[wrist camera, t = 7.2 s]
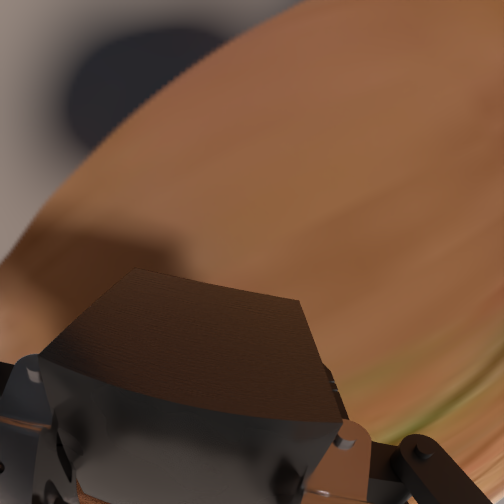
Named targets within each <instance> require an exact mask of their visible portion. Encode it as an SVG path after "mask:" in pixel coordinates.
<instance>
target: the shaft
mask: <svg viewBox="0 0 504 504" xmlns="http://www.w3.org/2000/svg"><path fill="white" fill-rule="evenodd" d="M37 357H38V362H39V367H40V371H41V376H42V380H43V384H44V388H45V391H46V395H47V399H48V402H49V406H51V407H53V408H54V409H55V413H56V416H57V420H58V423H59V424H58V433H59V436H60V439H61V442H62V444H63V447H64V450H65V452H66V455H67V457H68V459H69V461H71V462H73V464H74V467H75V469H76V478H77V480H78V482H79V484H80V486H81V488H82V490H83V492H84V493H85V494H87V495H90V496H92V497H95V498H97V499H100V500H103V501H105V502H108V503H111V504H290V503H291V501H292V499H293V497H294V494H295V492H296V489H297V486H298V483H299V480H300V478H301V476H302V474H303V473H304V471H305V469H306V468H307V466H308V465H318V464H319V463H320V461H321V459H322V458H323V456H324V455H325V453H326V452H327V450H328V448H329V447H330V445H331V443H332V442H333V440H334V438H335V437H336V435H337V433H338V432H339V430H340V428H341V426H342V425H343V420H342V417H341V414H340V411H339V409H338V406H337V403H336V400H335V397H334V394H333V392H332V389H331V386H330V383H329V380H328V378H327V375H326V372H325V369H324V366H323V364H322V361H321V358H320V356H319V353H318V350H317V347H316V345H315V342H314V339H313V337H312V334H311V331H310V328H309V326H308V323H307V320H306V318H305V315H304V313H303V310H302V307H301V305H300V302H299V300H293V299H287V298H281V297H276V296H270V295H265V294H260V293H254V292H249V291H244V290H238V289H233V288H228V287H223V286H218V285H213V284H208V283H203V282H198V281H194V280H189V279H184V278H179V277H175V276H170V275H165V274H161V273H156V272H152V271H147V270H143V269H139V268H134V269H133V270H132V271H130V272H129V273H128V274H127V275H126V276H125V277H123V278H122V279H121V280H120V281H119V282H117V283H116V284H115V285H114V286H113V287H112V288H110V289H109V290H108V291H107V292H106V293H105V294H104V295H102V296H101V297H100V298H99V299H98V300H97V301H96V302H94V303H93V304H92V305H91V306H90V307H89V308H88V309H87V310H86V311H84V312H83V313H82V314H81V315H80V316H79V317H78V318H77V319H76V320H74V321H73V322H72V323H71V324H70V325H69V326H68V327H67V328H66V329H65V330H64V331H63V332H62V333H60V334H59V335H58V336H57V337H56V338H55V339H54V340H53V341H52V342H51V343H50V344H49V345H48V346H47V347H46V348H45V349H44V350H43V351H42V352H41V353H40V354H39V355H37Z"/></svg>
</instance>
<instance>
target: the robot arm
mask: <svg viewBox="0 0 504 504" xmlns="http://www.w3.org/2000/svg"><path fill="white" fill-rule="evenodd" d="M37 355H39V354H30V355H27V356H24V357H22V358H20V359H19V360H18V361H17V362H16V363H15V365H13V364H8V363H4V362H0V504H80V503H79V499H78V495H77V488H76V469H75V467H74V464H73V462H71V461H69V459H68V457H67V455H66V452H65V450H64V447H63V444H62V442H61V439H60V436H59V433H58V424H59V423H58V420H57V416H56V413H55V409H54V408H53V407H51V406H49V402H48V399H47V395H46V391H45V388H44V384H43V380H42V376H41V371H40V367H39V362H38V357H37ZM322 364H323V363H322ZM323 366H324V369H325V372H326V375H327V378H328V380H329V383H330V386H331V389H332V392H333V394H334V397H335V400H336V403H337V406H338V409H339V411H340V414H341V417H342V420H343V425H342V426H341V428H340V430H339V432H338V433H337V435H336V437H335V438H334V440H333V442H332V443H331V445H330V447H329V448H328V450H327V452H326V453H325V455H324V456H323V458H322V459H321V461H320V463H319V464H318V465H308V466H307V468H306V469H305V471H304V473H303V474H302V476H301V478H300V480H299V483H298V486H297V489H296V492H295V494H294V497H293V499H292V501H291V503H290V504H409V503H408V502H407V500H408V499H409V498H410V497H411V496H413V497H414V499H415V500H416V501H417V503H418V504H492V502H491V501H490V500H489V499H488V498H487V497H486V496H485V495H484V493H483V492H482V491H481V490H480V489H479V488H478V487H477V486H476V485H475V484H474V482H473V481H472V480H471V479H470V478H469V477H468V476H467V475H466V474H465V472H464V471H463V470H462V469H461V468H460V467H459V466H458V465H457V464H456V463H455V461H454V460H453V459H452V458H451V457H450V456H449V455H448V454H447V453H446V452H445V450H444V449H443V448H442V447H441V446H440V445H439V444H438V443H437V442H436V441H435V440H433V439H432V438H430V437H428V436H425V435H420V434H412V435H409V436H406V437H405V438H404V439H403V440H402V441H401V443H400V444H399V445H398V446H393V445H387V444H382V443H377V442H373V441H371V437H370V435H369V433H368V432H367V431H366V430H365V429H364V428H363V427H362V426H361V425H359V424H357V423H355V422H353V421H350V420H349V418H348V415H347V412H346V410H345V407H344V404H343V402H342V399H341V397H340V394H339V392H338V389H337V386H336V384H335V383H334V382H335V381H334V379H333V376H332V373H331V371H330V370H329V369H328V368H327V367H326V366H325V365H324V364H323Z"/></svg>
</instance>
